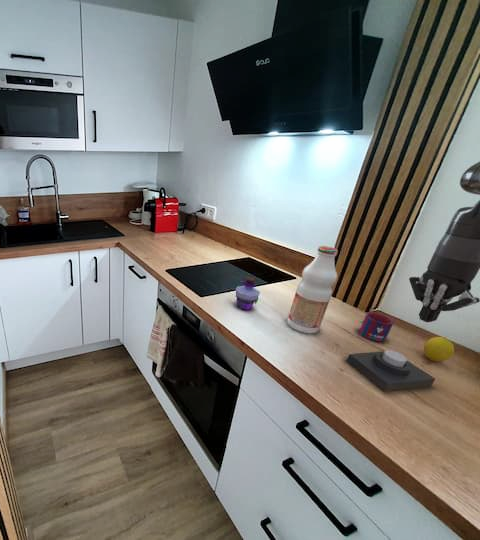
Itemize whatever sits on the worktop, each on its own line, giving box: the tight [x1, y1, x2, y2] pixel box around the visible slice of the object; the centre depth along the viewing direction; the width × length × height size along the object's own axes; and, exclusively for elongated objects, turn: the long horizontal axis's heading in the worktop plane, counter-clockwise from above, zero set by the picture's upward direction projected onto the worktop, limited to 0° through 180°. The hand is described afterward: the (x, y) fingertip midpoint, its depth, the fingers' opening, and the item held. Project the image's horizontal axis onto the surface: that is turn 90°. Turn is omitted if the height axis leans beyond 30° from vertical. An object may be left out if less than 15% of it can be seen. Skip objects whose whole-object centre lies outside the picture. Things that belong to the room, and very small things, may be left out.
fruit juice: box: [286, 245, 339, 334], centre depth 92 cm, size 9×9×28 cm
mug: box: [358, 310, 395, 343], centre depth 93 cm, size 7×10×7 cm
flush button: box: [382, 349, 408, 367], centre depth 75 cm, size 4×4×2 cm
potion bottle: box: [235, 276, 261, 312], centre depth 106 cm, size 9×9×12 cm
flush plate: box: [346, 350, 436, 393], centre depth 76 cm, size 14×11×4 cm
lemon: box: [423, 336, 455, 362], centre depth 81 cm, size 6×6×8 cm
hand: (425, 320), depth 71 cm, fingers closed
